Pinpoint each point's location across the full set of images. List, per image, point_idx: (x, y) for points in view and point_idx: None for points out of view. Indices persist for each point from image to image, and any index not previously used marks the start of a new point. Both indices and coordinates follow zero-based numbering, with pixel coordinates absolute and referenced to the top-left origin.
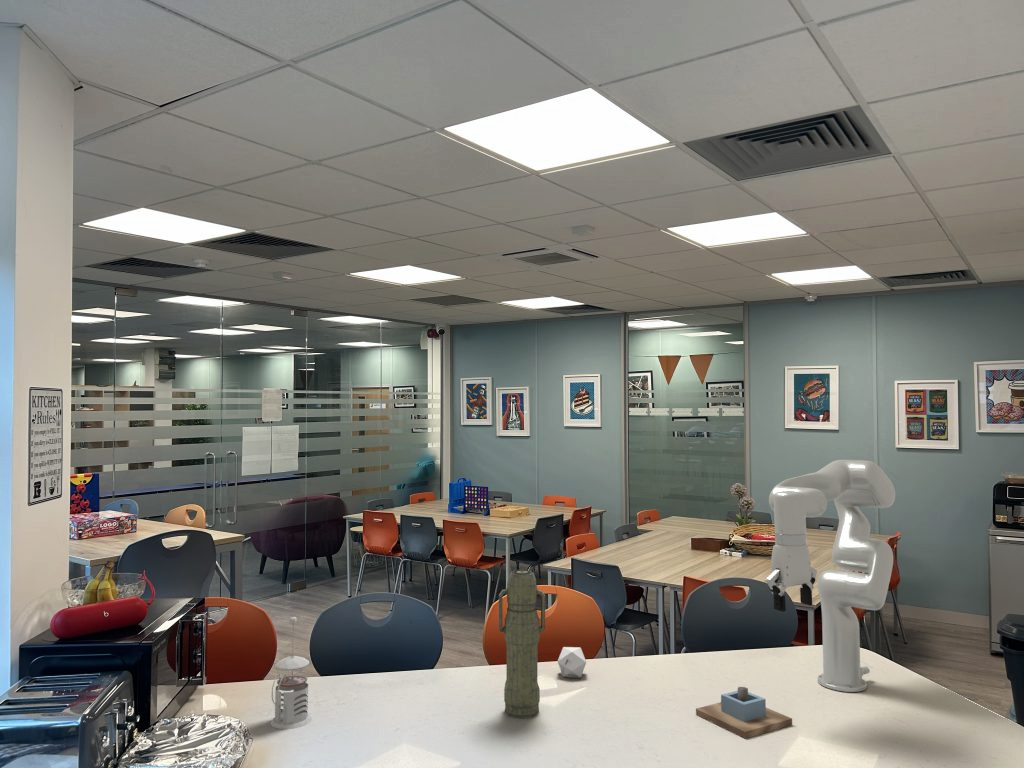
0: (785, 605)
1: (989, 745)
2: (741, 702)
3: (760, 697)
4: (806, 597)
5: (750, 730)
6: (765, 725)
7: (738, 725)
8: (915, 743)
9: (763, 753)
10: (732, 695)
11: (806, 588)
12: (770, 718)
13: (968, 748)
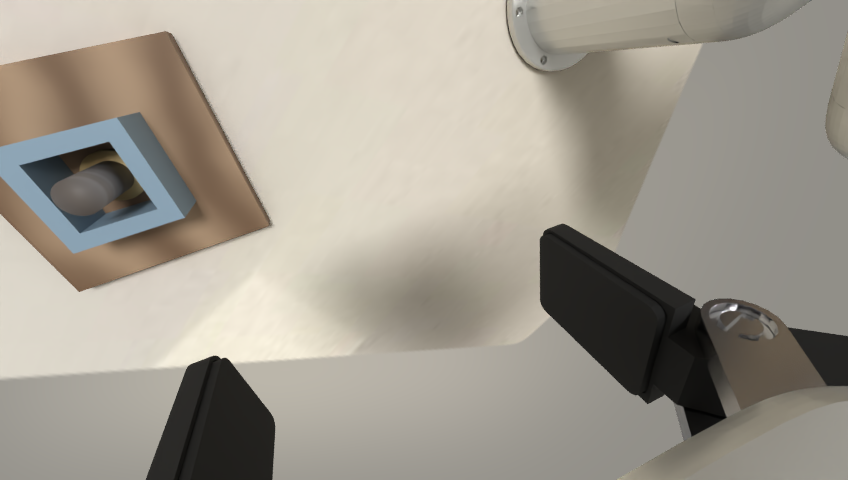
0: (272, 467)
1: (531, 311)
2: (67, 236)
3: (170, 203)
4: (580, 319)
5: (102, 283)
6: (166, 258)
7: (67, 254)
8: (448, 305)
9: (117, 348)
10: (49, 156)
11: (663, 381)
12: (203, 219)
13: (500, 319)
